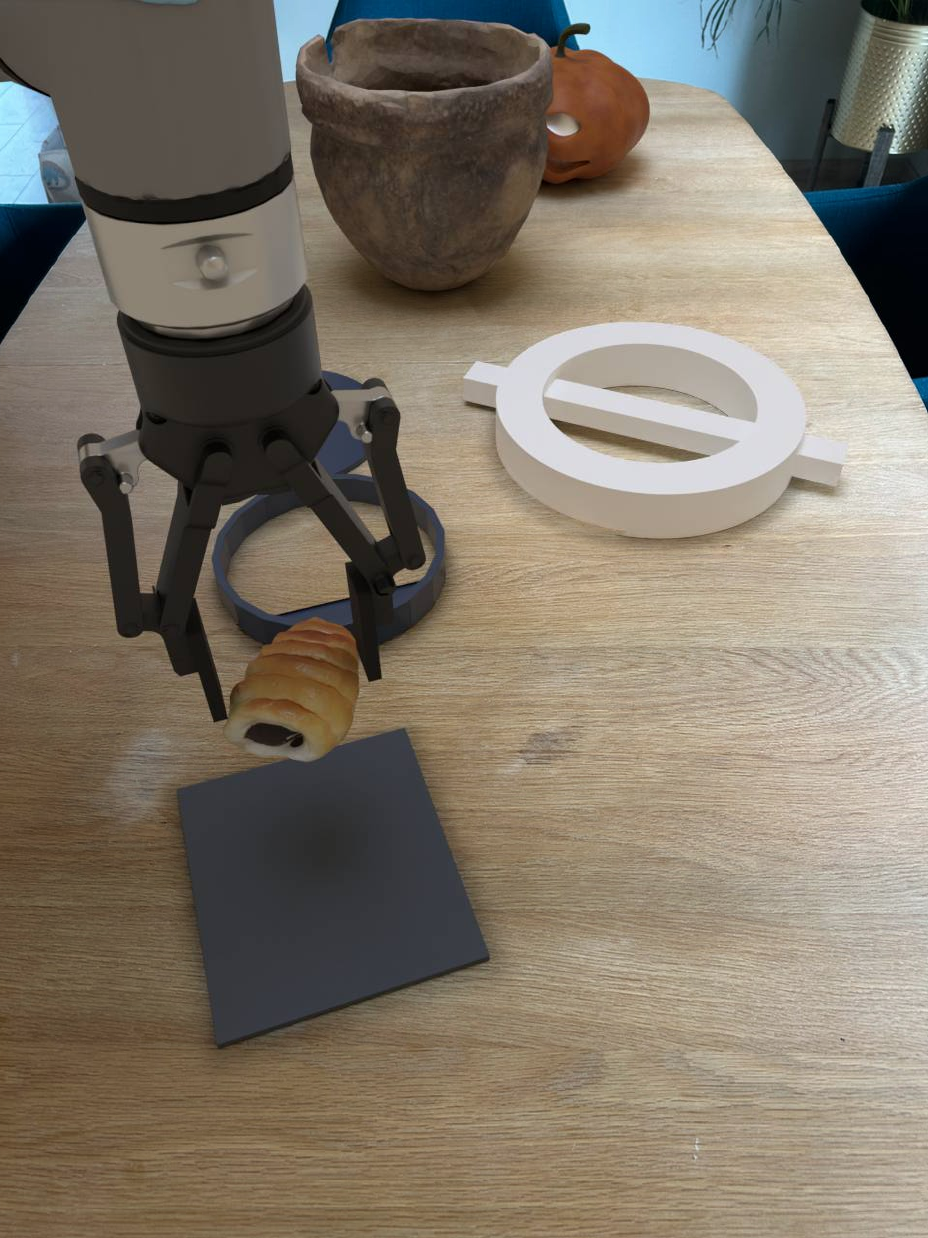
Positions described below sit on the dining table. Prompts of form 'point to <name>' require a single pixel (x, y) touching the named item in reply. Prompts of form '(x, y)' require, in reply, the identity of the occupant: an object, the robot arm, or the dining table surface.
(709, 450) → the white circle with bar
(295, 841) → the mat
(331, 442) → the lid
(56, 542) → the dining table surface
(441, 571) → the dark blue ring
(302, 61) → the clay pot
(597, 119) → the pumpkin
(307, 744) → the pastry
